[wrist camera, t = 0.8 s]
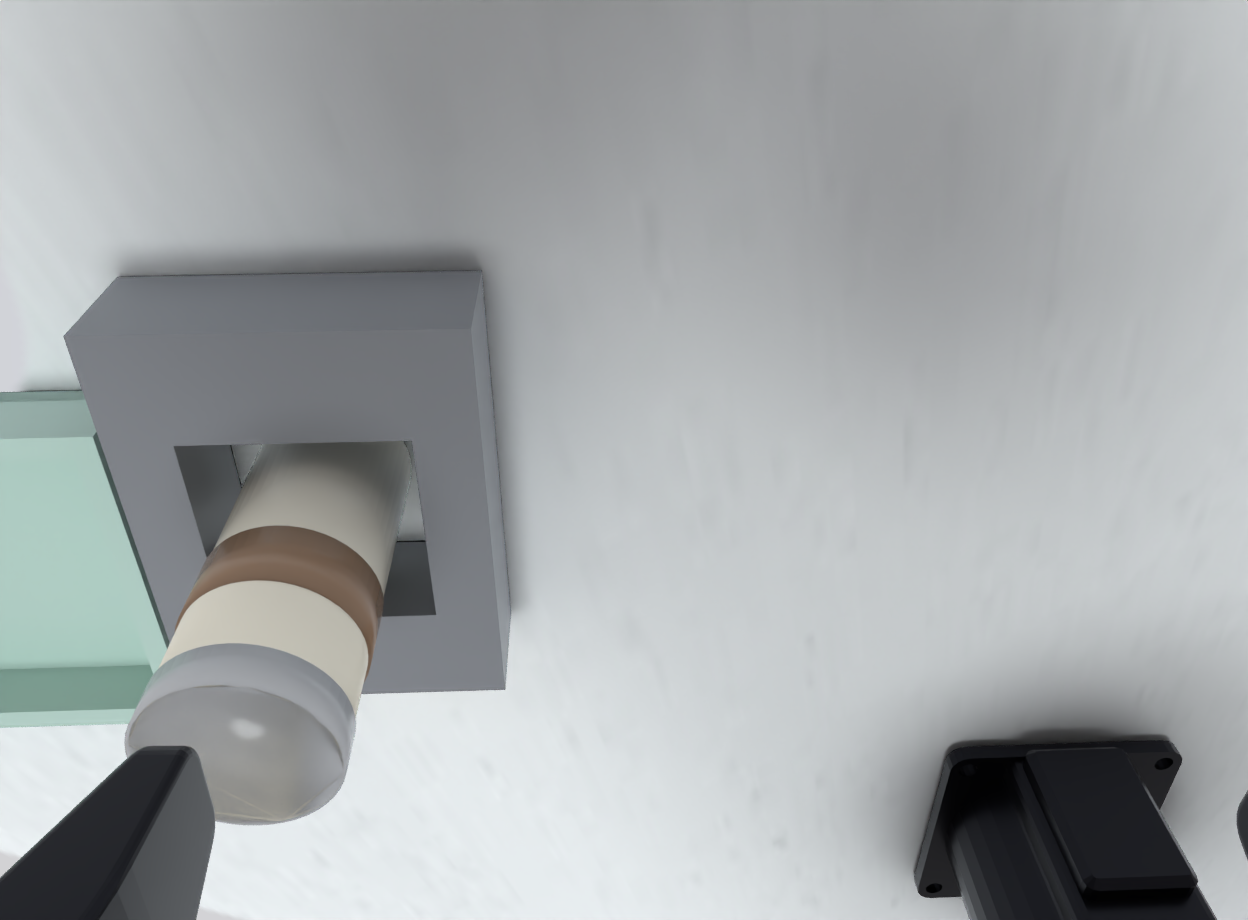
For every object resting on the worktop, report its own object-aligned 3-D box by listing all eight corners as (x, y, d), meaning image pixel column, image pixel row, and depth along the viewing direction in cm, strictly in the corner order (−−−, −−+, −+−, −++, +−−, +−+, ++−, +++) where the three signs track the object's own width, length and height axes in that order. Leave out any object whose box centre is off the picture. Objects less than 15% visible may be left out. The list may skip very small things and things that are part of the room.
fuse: (422, 522, 23) (361, 821, 17) (276, 526, 23) (156, 828, 16) (404, 397, 21) (327, 679, 15) (245, 401, 21) (96, 686, 15)
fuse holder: (511, 616, 25) (505, 692, 23) (222, 624, 25) (190, 702, 23) (482, 270, 20) (471, 328, 18) (117, 276, 20) (64, 336, 17)
